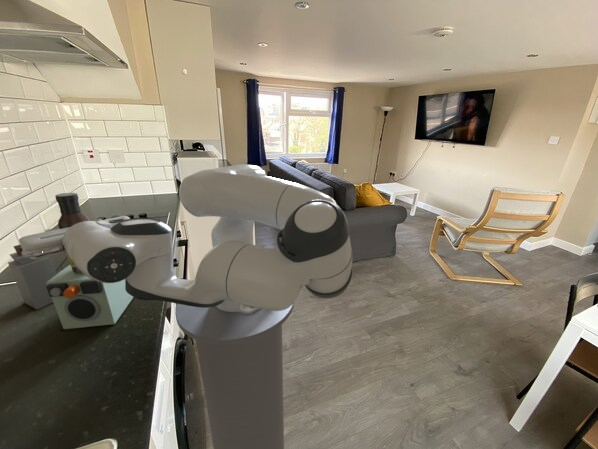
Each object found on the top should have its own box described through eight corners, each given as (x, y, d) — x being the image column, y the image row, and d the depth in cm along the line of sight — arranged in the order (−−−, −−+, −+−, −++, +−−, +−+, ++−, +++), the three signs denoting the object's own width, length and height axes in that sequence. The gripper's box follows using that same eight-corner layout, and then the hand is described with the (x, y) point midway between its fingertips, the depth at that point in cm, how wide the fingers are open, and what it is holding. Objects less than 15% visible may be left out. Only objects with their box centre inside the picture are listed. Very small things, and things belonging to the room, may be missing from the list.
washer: (111, 328, 67) (97, 282, 63) (59, 334, 66) (40, 286, 61) (133, 296, 80) (123, 256, 75) (90, 300, 78) (76, 259, 73)
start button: (76, 297, 62) (73, 289, 61) (64, 298, 62) (61, 290, 61) (81, 292, 64) (78, 284, 63) (70, 293, 63) (67, 285, 63)
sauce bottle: (97, 272, 67) (75, 196, 60) (67, 276, 65) (41, 198, 58) (106, 261, 72) (86, 190, 66) (79, 264, 71) (55, 192, 64)
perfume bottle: (64, 296, 80) (45, 242, 74) (36, 309, 74) (13, 252, 68) (53, 290, 83) (33, 238, 76) (25, 303, 77) (1, 247, 71)
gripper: (29, 273, 51) (21, 252, 59) (142, 241, 65) (123, 228, 74) (17, 243, 48) (10, 226, 57) (137, 217, 63) (118, 206, 71)
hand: (75, 227), depth 65 cm, fingers open, 8 cm apart
